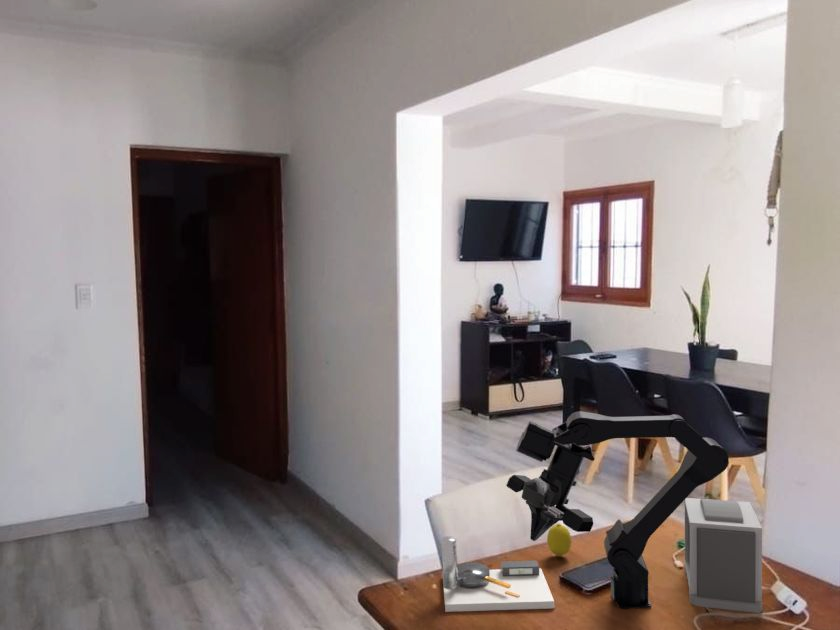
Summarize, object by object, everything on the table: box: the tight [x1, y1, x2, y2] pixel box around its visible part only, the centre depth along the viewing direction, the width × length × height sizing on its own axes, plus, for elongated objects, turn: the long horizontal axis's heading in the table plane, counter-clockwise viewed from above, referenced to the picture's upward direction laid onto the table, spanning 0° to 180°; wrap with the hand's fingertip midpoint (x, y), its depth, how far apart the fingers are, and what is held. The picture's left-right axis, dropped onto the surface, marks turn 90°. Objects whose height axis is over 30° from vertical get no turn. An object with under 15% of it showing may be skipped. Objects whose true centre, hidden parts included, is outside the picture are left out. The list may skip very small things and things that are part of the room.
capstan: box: [441, 535, 511, 589], centre depth 142 cm, size 14×12×11 cm
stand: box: [443, 560, 555, 613], centre depth 144 cm, size 22×15×4 cm
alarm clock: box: [684, 497, 763, 614], centre depth 142 cm, size 18×13×18 cm
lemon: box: [546, 523, 572, 558], centre depth 160 cm, size 6×6×8 cm
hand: (533, 540), depth 140 cm, fingers closed
